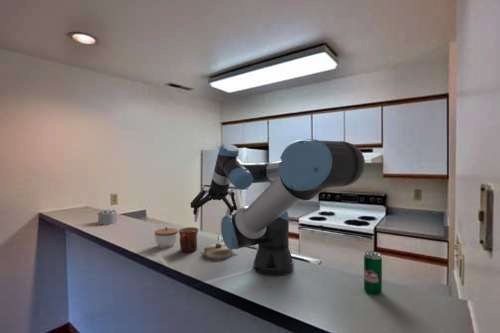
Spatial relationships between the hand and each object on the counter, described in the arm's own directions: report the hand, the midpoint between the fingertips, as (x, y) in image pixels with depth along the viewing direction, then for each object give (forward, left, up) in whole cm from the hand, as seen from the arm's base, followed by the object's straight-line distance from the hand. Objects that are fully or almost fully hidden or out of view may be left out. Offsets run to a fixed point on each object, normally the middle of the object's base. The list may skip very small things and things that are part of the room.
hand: (210, 220), depth 119 cm
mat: (-5, -1, -15) cm, 16 cm away
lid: (-5, -1, -14) cm, 15 cm away
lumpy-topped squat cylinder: (+94, +33, -15) cm, 101 cm away
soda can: (-60, -27, -15) cm, 68 cm away
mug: (+6, +9, -15) cm, 18 cm away
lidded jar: (+21, +14, -15) cm, 29 cm away
